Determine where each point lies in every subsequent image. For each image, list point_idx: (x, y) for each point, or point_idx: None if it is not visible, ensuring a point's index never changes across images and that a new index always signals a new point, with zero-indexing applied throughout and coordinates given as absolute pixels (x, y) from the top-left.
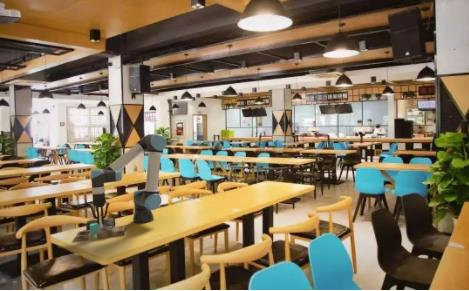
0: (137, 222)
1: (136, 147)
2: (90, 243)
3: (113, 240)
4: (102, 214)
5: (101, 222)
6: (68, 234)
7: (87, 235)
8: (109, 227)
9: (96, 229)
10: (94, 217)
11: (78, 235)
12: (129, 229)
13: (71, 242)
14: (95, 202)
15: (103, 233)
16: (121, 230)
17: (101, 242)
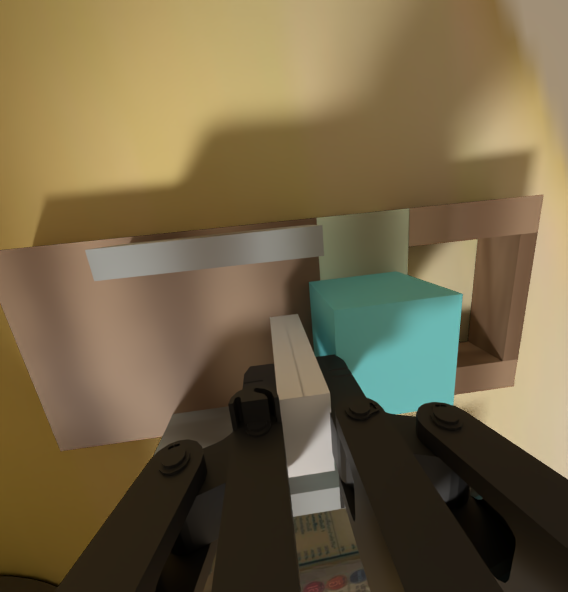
0: (32, 585)
1: None
2: (349, 44)
3: (94, 58)
4: (240, 544)
5: (278, 360)
6: (552, 426)
7: (418, 207)
8: (135, 244)
9: (337, 289)
10: (476, 430)
11: (515, 232)
12: (47, 426)
13: (534, 176)
14: None
15: (240, 226)
16: (18, 266)
17: (228, 29)
